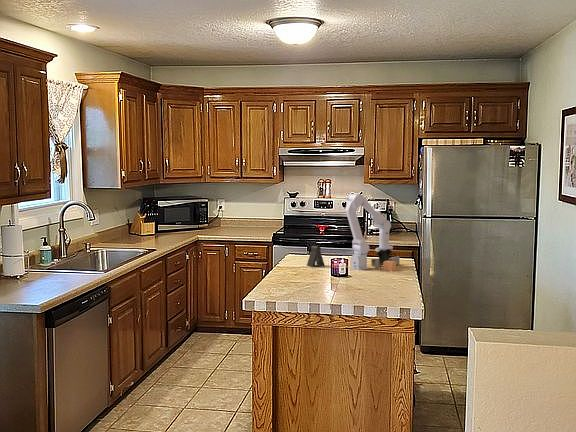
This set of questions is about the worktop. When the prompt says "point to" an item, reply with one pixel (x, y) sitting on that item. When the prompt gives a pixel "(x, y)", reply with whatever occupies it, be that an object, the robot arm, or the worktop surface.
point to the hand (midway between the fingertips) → (384, 262)
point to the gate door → (379, 262)
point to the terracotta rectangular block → (389, 265)
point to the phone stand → (315, 257)
